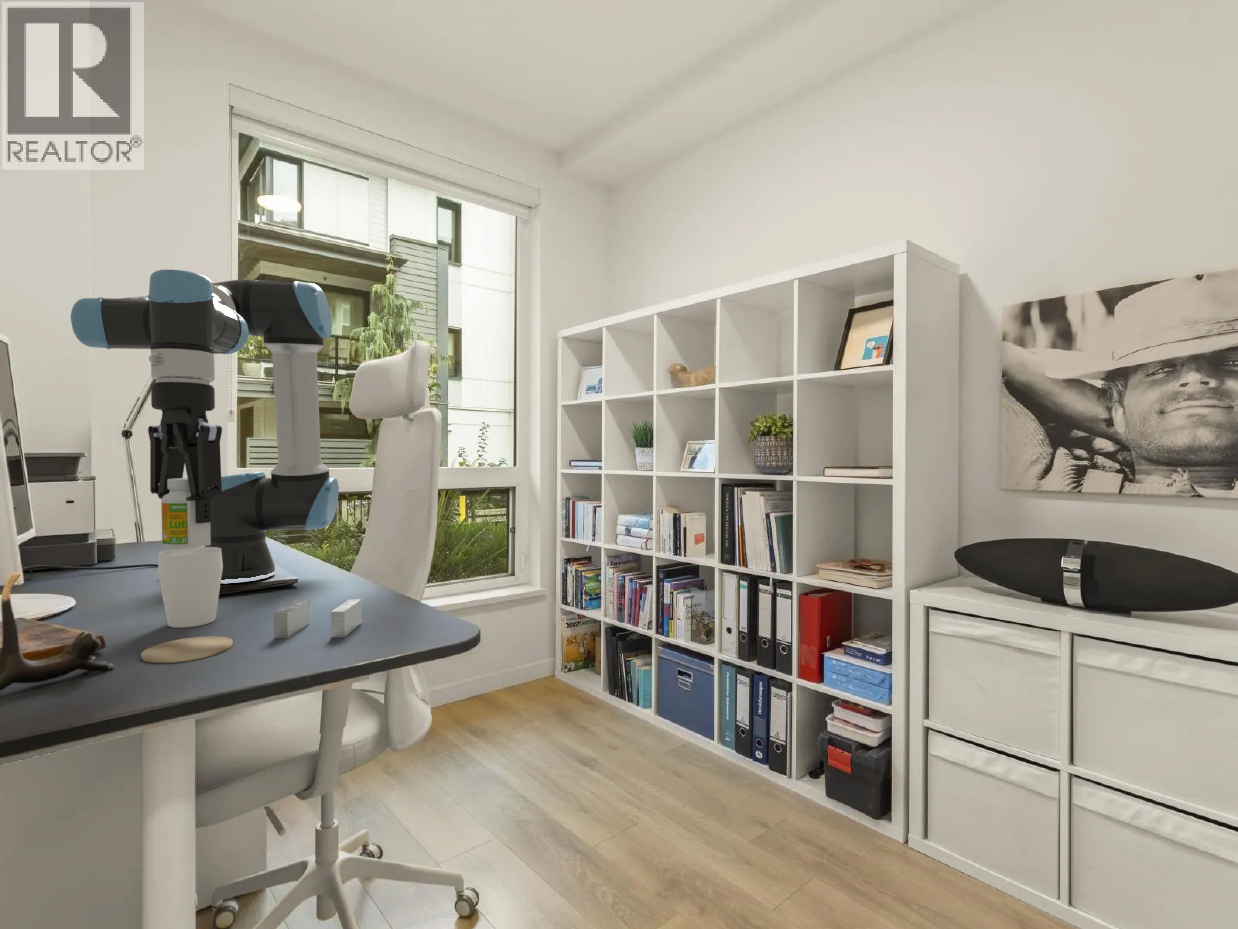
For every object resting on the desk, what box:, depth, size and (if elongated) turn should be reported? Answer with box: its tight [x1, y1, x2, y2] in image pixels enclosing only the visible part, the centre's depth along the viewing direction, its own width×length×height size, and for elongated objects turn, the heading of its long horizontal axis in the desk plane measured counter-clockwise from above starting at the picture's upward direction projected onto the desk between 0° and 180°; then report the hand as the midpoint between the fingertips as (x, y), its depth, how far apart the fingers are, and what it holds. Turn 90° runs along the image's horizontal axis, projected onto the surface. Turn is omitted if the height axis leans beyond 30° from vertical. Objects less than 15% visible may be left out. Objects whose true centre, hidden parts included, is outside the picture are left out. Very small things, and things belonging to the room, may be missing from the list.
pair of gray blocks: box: [273, 598, 363, 640], centre depth 103 cm, size 8×10×4 cm
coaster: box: [140, 635, 234, 664], centre depth 93 cm, size 11×11×1 cm
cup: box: [157, 546, 223, 629], centre depth 107 cm, size 9×9×12 cm
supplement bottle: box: [161, 477, 202, 550], centre depth 92 cm, size 5×5×10 cm
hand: (186, 544), depth 93 cm, fingers closed on supplement bottle, 5 cm apart
